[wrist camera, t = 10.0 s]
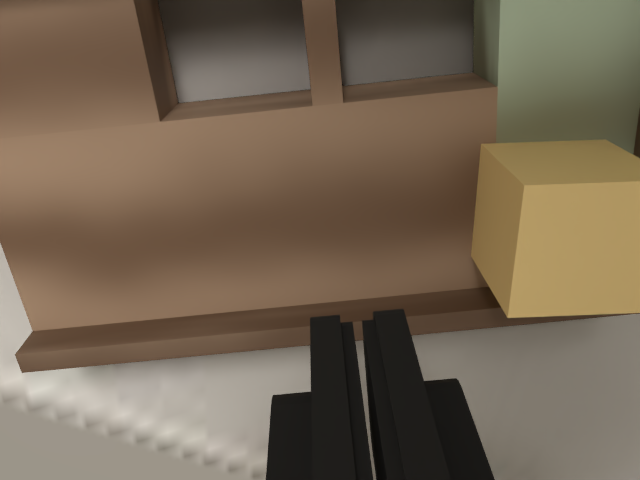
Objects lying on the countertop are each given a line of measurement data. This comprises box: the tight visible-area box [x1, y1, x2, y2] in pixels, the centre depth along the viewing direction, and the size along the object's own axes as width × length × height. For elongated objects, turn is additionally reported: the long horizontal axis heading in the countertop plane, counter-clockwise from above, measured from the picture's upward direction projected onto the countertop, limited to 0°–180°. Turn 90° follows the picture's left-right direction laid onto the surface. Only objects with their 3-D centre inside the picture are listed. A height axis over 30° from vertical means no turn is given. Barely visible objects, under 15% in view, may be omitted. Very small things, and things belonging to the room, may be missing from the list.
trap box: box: [0, 0, 640, 373], centre depth 20 cm, size 14×23×4 cm, turn 96°
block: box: [471, 139, 640, 318], centre depth 18 cm, size 4×4×4 cm
